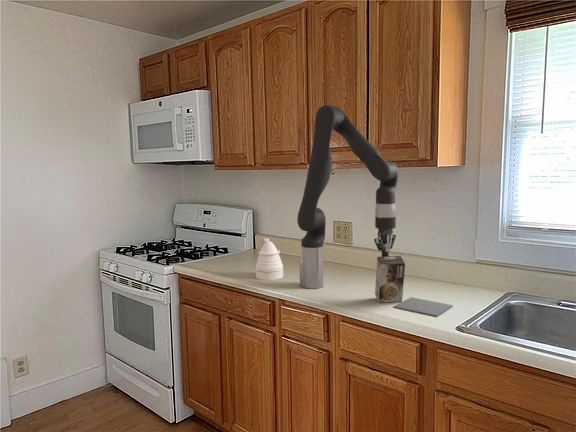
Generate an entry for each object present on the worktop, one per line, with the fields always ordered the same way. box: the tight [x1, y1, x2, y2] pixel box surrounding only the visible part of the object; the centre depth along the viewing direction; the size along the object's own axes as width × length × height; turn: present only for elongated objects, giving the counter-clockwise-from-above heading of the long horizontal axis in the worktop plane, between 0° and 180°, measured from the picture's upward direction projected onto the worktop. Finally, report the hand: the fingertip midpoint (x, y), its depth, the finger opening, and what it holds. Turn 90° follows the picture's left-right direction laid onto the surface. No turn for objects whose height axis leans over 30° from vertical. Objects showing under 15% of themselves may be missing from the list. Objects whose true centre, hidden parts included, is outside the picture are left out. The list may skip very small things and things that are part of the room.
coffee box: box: [374, 255, 406, 303], centre depth 165 cm, size 9×6×16 cm
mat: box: [393, 296, 454, 318], centre depth 159 cm, size 16×14×1 cm
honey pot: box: [255, 237, 284, 281], centre depth 205 cm, size 13×13×18 cm
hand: (385, 261), depth 167 cm, fingers closed
